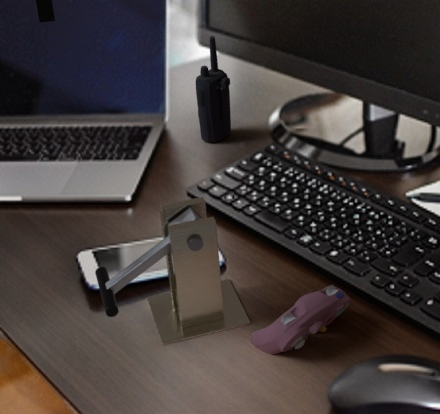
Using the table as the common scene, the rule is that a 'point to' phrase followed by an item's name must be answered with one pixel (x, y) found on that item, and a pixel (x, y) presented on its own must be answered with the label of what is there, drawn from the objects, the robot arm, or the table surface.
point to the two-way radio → (213, 100)
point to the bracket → (194, 279)
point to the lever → (135, 267)
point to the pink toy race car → (302, 320)
